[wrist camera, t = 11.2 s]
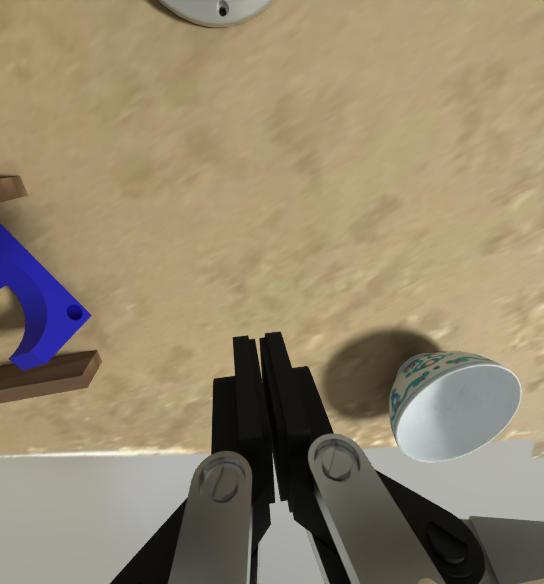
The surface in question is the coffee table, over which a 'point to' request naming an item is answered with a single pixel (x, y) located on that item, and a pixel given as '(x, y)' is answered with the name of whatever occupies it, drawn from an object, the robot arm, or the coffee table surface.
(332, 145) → the coffee table surface
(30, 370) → the dock bay
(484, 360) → the chinaware
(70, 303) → the cable clip
